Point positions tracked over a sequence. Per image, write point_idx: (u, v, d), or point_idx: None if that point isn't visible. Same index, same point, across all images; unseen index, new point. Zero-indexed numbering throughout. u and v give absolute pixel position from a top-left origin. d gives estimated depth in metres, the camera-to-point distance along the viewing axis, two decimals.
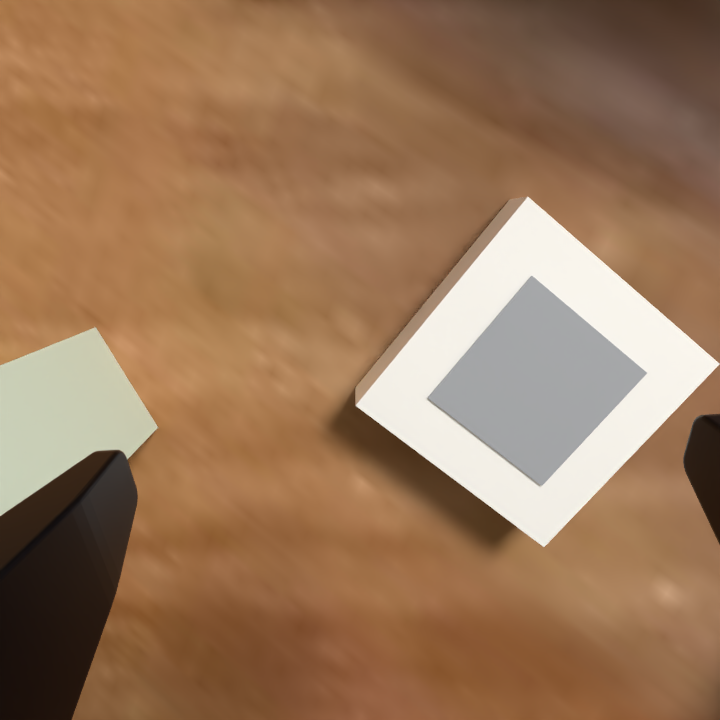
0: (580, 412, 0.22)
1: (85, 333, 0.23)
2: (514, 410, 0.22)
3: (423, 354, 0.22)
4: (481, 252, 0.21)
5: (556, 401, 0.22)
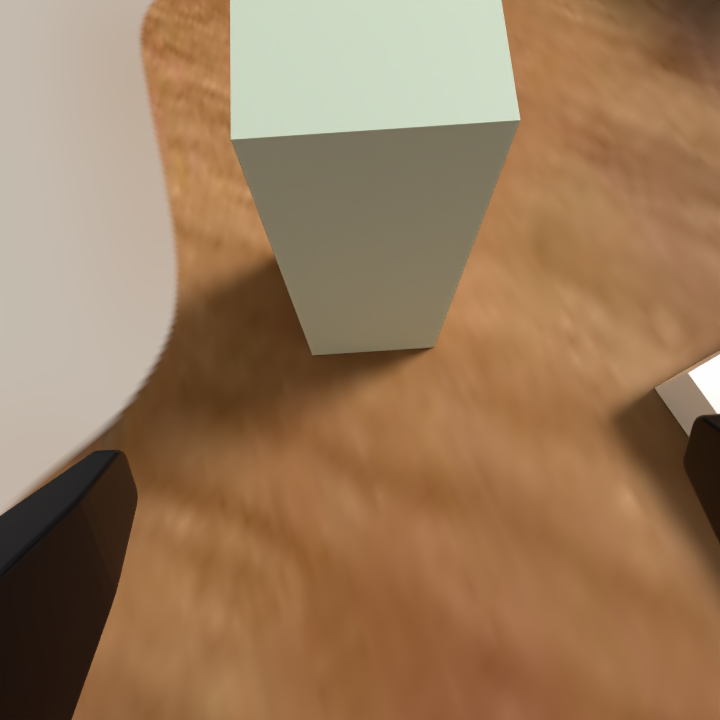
0: None
1: None
2: None
3: None
4: None
5: None
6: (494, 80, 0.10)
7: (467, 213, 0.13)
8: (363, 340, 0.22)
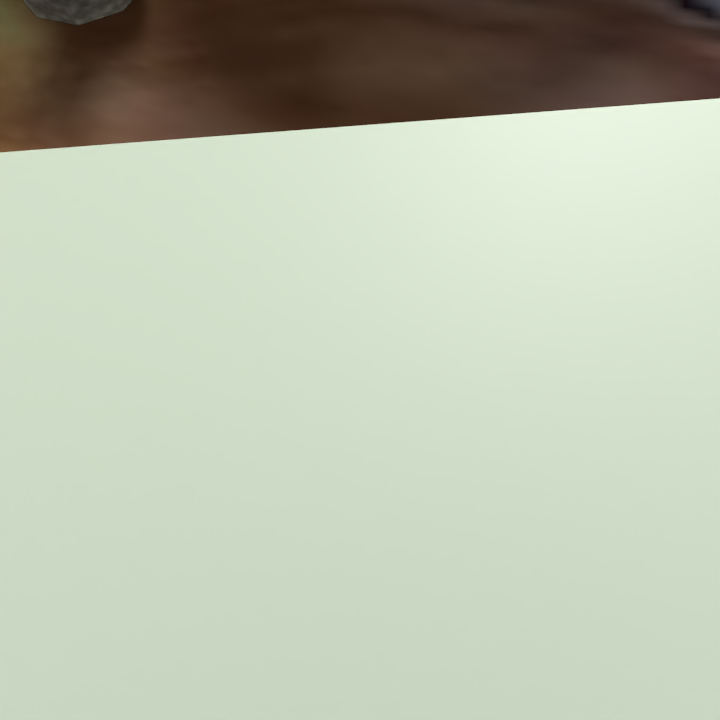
0: None
1: None
2: None
3: None
4: None
5: None
6: None
7: None
8: None
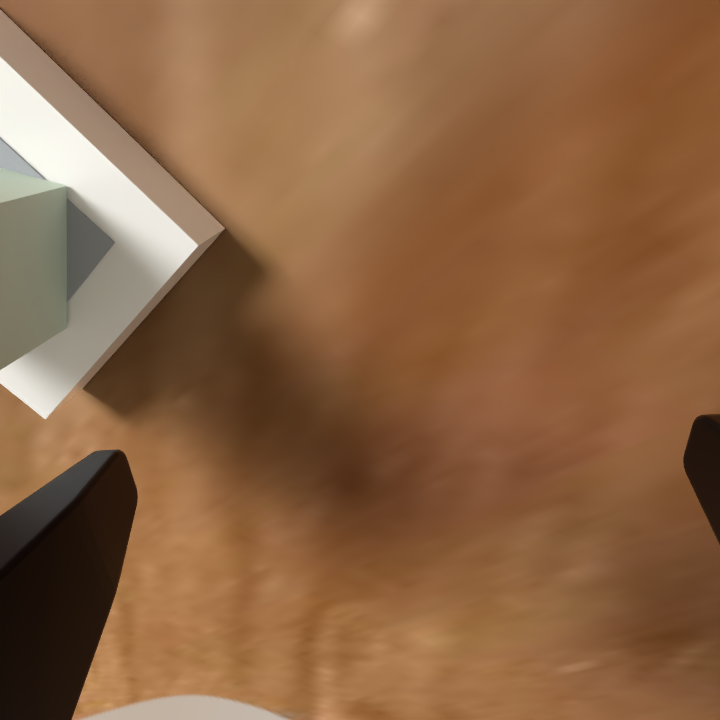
0: None
1: None
2: None
3: None
4: None
5: None
6: None
7: None
8: (35, 286, 0.18)
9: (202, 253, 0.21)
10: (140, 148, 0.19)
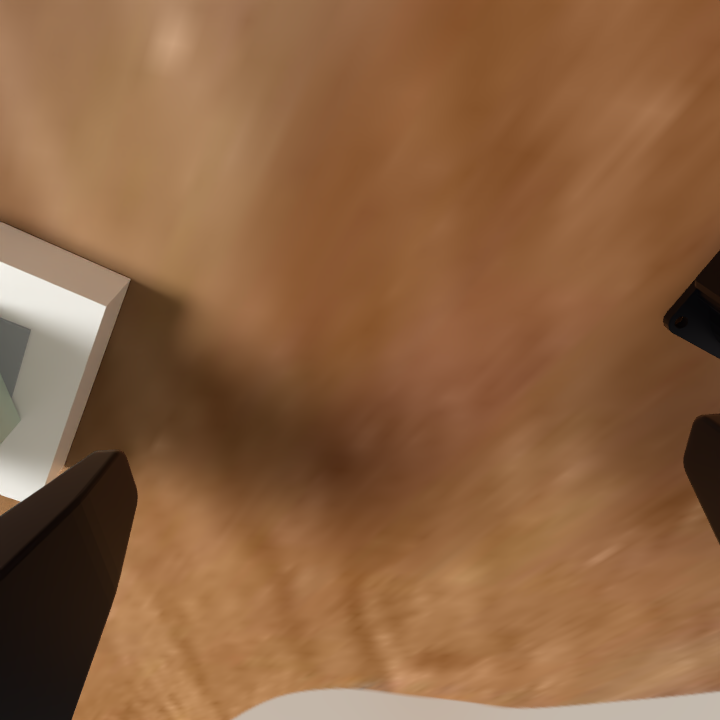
0: None
1: None
2: None
3: None
4: None
5: None
6: None
7: None
8: None
9: (119, 308, 0.22)
10: (23, 234, 0.20)
